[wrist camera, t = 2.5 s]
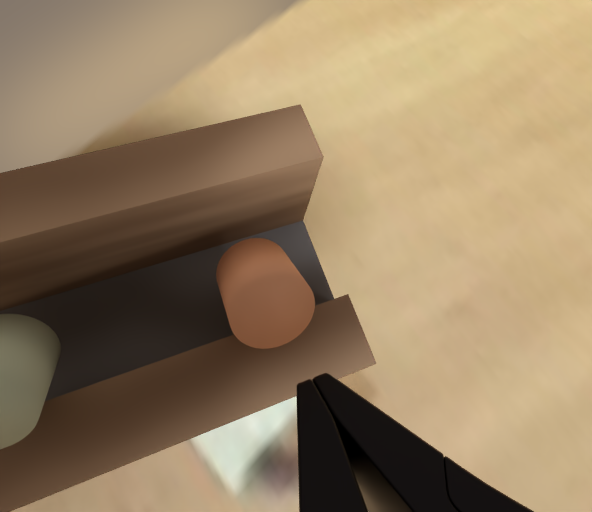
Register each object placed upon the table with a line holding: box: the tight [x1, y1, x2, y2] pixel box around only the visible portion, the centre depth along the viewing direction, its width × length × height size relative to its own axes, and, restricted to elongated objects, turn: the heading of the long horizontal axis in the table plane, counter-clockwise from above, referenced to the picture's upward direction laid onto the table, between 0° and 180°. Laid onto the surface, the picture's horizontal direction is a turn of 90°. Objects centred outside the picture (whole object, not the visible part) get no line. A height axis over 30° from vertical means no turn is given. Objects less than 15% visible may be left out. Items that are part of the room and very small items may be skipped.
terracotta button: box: [216, 238, 315, 349], centre depth 14 cm, size 4×3×4 cm
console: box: [0, 105, 376, 512], centre depth 16 cm, size 10×16×9 cm, turn 110°
